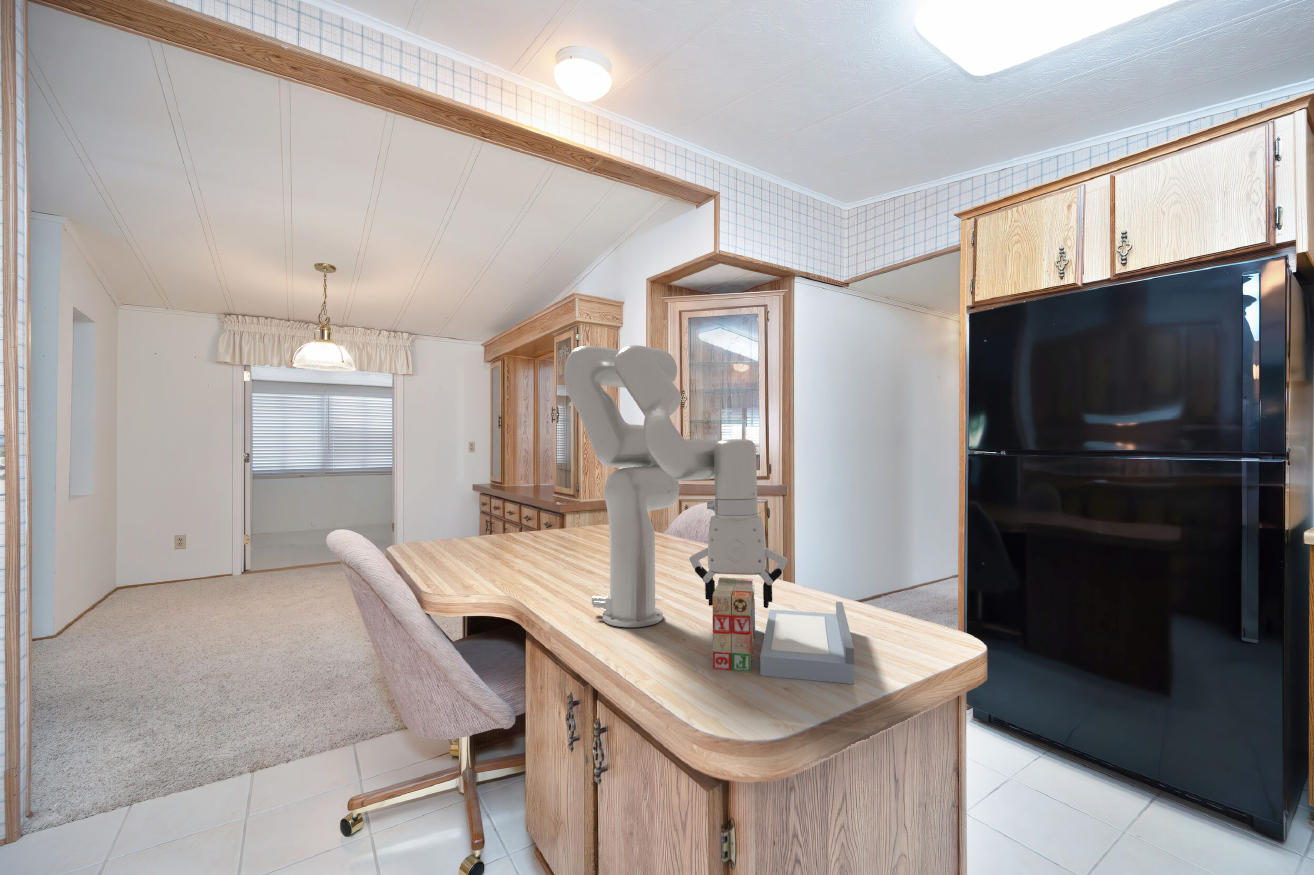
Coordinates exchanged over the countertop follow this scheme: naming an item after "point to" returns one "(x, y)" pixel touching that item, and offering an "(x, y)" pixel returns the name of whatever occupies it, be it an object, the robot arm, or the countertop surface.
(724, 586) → the stack of blocks
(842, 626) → the tray
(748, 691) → the countertop surface
